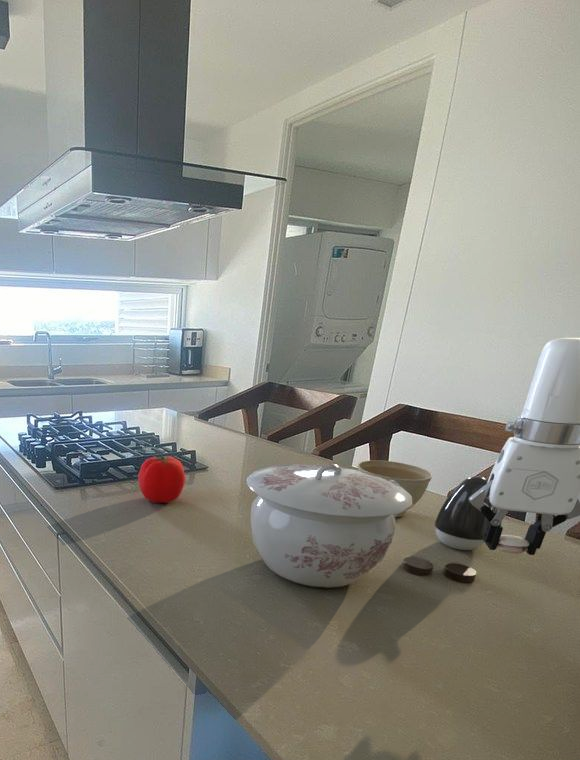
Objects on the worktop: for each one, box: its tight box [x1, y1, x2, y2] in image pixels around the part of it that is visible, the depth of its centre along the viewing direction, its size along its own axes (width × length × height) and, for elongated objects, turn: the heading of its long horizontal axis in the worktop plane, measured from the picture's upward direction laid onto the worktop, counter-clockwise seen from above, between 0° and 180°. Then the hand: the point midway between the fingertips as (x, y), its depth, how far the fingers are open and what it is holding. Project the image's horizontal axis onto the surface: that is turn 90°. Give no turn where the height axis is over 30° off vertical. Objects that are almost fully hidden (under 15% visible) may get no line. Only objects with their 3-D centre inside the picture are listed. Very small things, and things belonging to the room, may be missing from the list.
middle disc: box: [442, 562, 477, 584], centre depth 91 cm, size 5×5×2 cm
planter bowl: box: [357, 460, 433, 518], centre depth 119 cm, size 16×16×11 cm
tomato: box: [137, 454, 187, 504], centre depth 124 cm, size 12×13×12 cm
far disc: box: [401, 556, 434, 577], centre depth 93 cm, size 5×5×2 cm
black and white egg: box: [434, 475, 493, 551], centre depth 101 cm, size 10×10×15 cm
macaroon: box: [497, 534, 529, 555], centre depth 76 cm, size 4×5×2 cm
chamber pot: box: [246, 463, 413, 589], centre depth 88 cm, size 28×28×21 cm
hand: (509, 547), depth 76 cm, fingers closed on macaroon, 4 cm apart
